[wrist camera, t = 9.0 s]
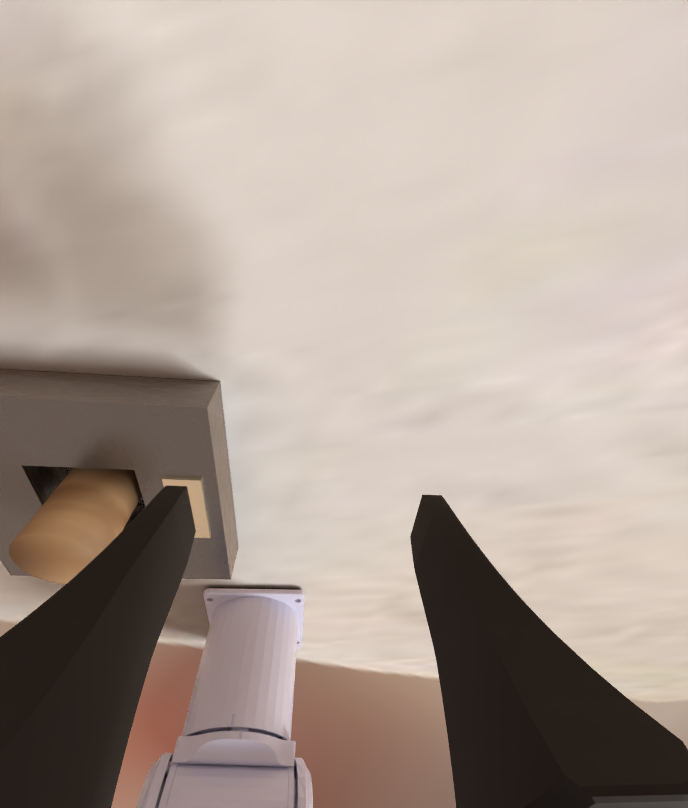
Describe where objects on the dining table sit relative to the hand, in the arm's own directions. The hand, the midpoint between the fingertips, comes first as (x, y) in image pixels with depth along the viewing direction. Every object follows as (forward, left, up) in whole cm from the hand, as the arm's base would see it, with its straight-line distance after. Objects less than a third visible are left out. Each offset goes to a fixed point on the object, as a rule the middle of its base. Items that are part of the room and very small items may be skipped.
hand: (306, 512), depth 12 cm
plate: (-8, +12, -9) cm, 17 cm away
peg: (-8, +12, -9) cm, 17 cm away
